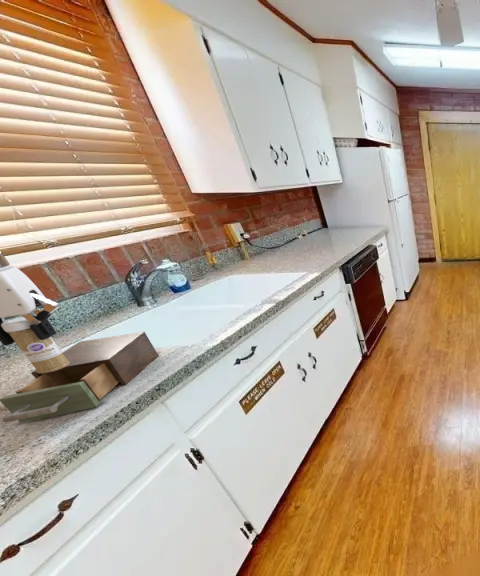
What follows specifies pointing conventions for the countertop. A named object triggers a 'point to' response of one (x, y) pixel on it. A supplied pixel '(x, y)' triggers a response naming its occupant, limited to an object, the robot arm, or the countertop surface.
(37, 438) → the countertop surface
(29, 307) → the robot arm
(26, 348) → the sprinkles bottle
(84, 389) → the drawer
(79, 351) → the cabinet
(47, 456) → the countertop surface
